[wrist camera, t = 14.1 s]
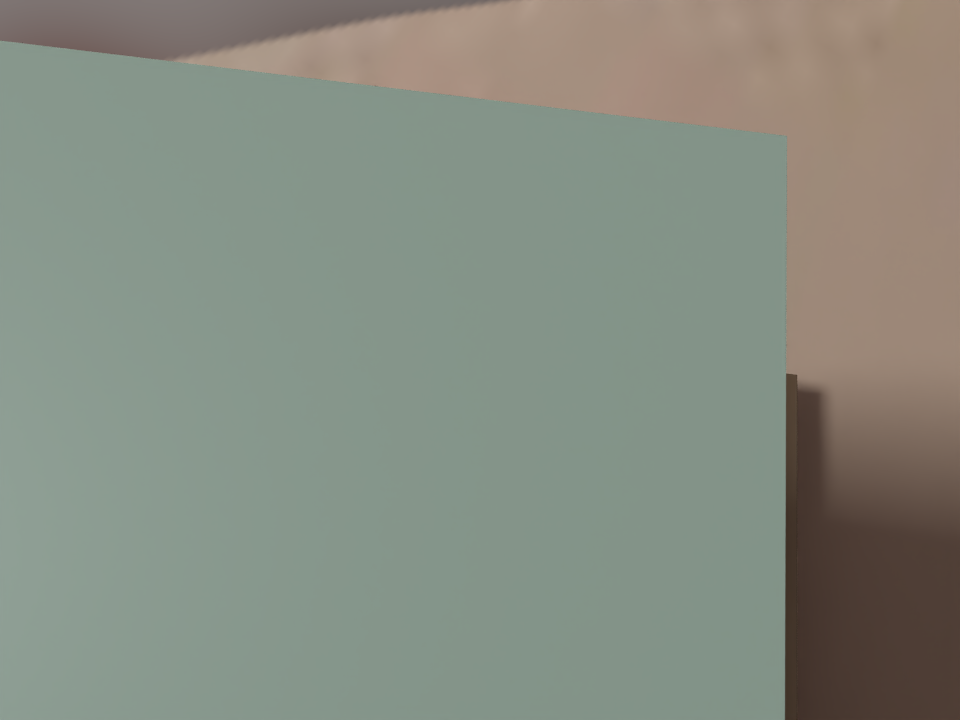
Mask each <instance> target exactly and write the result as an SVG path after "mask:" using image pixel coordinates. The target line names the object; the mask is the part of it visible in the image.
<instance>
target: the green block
mask: <svg viewBox="0 0 960 720" xmlns="http://www.w3.org/2000/svg"><path fill="white" fill-rule="evenodd" d="M786 233H787V136H783V135H775V134H766V133H758V132H750V131H742V130H733V129H725V128H717V127H708V126H700V125H692V124H684V123H675V122H667V121H659V120H651V119H642V118H634V117H626V116H618V115H609V114H601V113H593V112H585V111H576V110H568V109H560V108H552V107H543V106H535V105H527V104H519V103H510V102H502V101H494V100H485V99H477V98H469V97H461V96H452V95H444V94H436V93H428V92H419V91H411V90H403V89H395V88H386V87H378V86H370V85H362V84H353V83H345V82H337V81H328V80H320V79H312V78H304V77H295V76H287V75H279V74H271V73H262V72H254V71H246V70H238V69H229V68H221V67H213V66H205V65H196V64H188V63H180V62H172V61H163V60H155V59H147V58H138V57H130V56H122V55H113V54H105V53H96V52H88V51H80V50H72V49H64V48H56V47H47V46H39V45H31V44H23V43H14V42H6V41H0V720H785V526H786Z"/></svg>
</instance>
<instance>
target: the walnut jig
mask: <svg viewBox="0 0 960 720" xmlns="http://www.w3.org/2000/svg"><path fill="white" fill-rule="evenodd" d="M785 720H797V375H793V374H786V526H785Z"/></svg>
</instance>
